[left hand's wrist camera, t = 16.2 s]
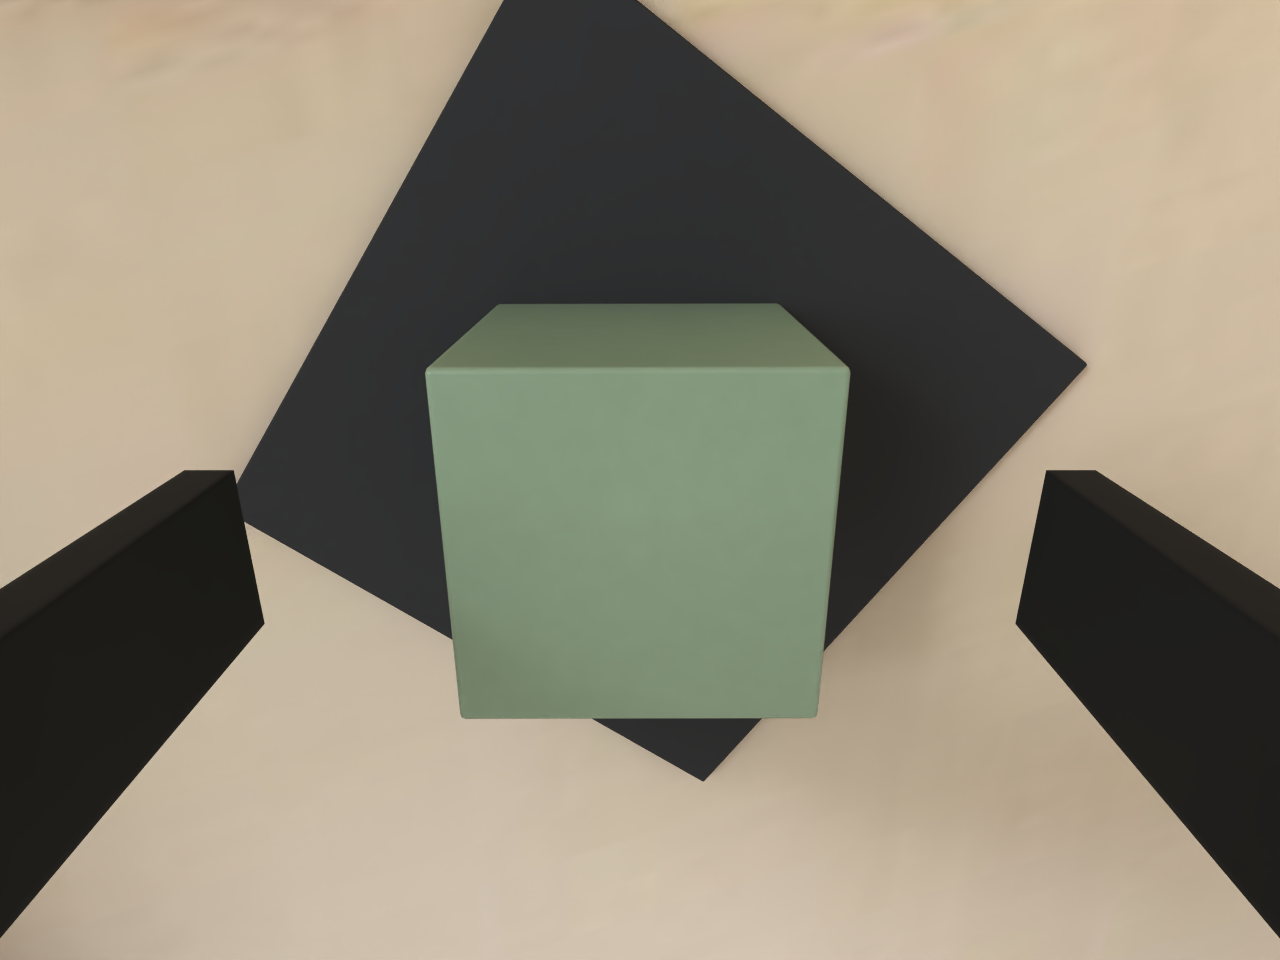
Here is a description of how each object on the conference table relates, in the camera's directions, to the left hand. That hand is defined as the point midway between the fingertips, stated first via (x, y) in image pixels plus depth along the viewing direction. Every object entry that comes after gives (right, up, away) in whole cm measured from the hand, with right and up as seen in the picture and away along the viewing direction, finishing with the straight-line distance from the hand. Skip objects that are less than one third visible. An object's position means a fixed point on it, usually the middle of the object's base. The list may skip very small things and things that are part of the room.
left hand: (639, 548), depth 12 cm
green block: (0, +2, +5) cm, 6 cm away
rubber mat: (0, +2, +6) cm, 6 cm away
